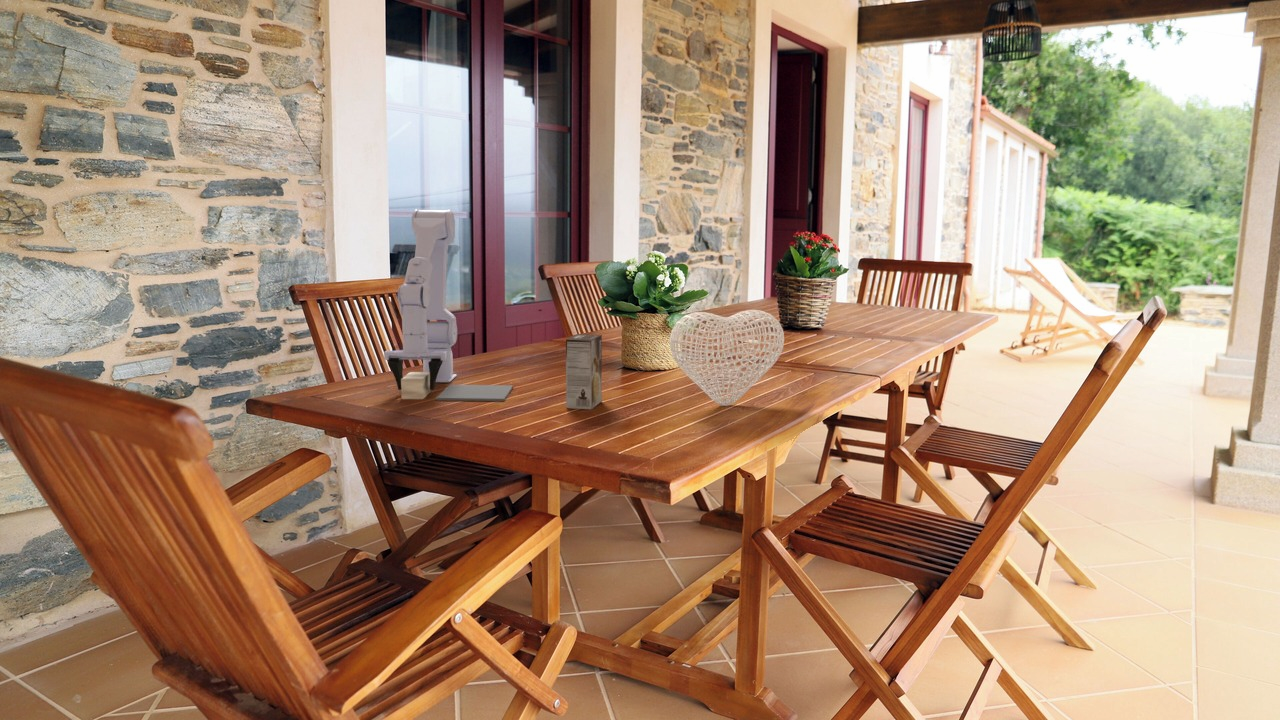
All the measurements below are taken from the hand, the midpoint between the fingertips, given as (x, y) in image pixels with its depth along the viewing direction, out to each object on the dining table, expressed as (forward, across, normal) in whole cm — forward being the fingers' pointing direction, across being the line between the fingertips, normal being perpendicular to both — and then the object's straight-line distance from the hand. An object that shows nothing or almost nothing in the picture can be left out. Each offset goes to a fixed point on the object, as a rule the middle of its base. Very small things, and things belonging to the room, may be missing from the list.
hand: (416, 389), depth 218 cm
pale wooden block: (+2, 0, 0) cm, 2 cm away
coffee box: (+2, +41, -9) cm, 42 cm away
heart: (+2, +74, -8) cm, 74 cm away
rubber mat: (+1, +14, +2) cm, 14 cm away
